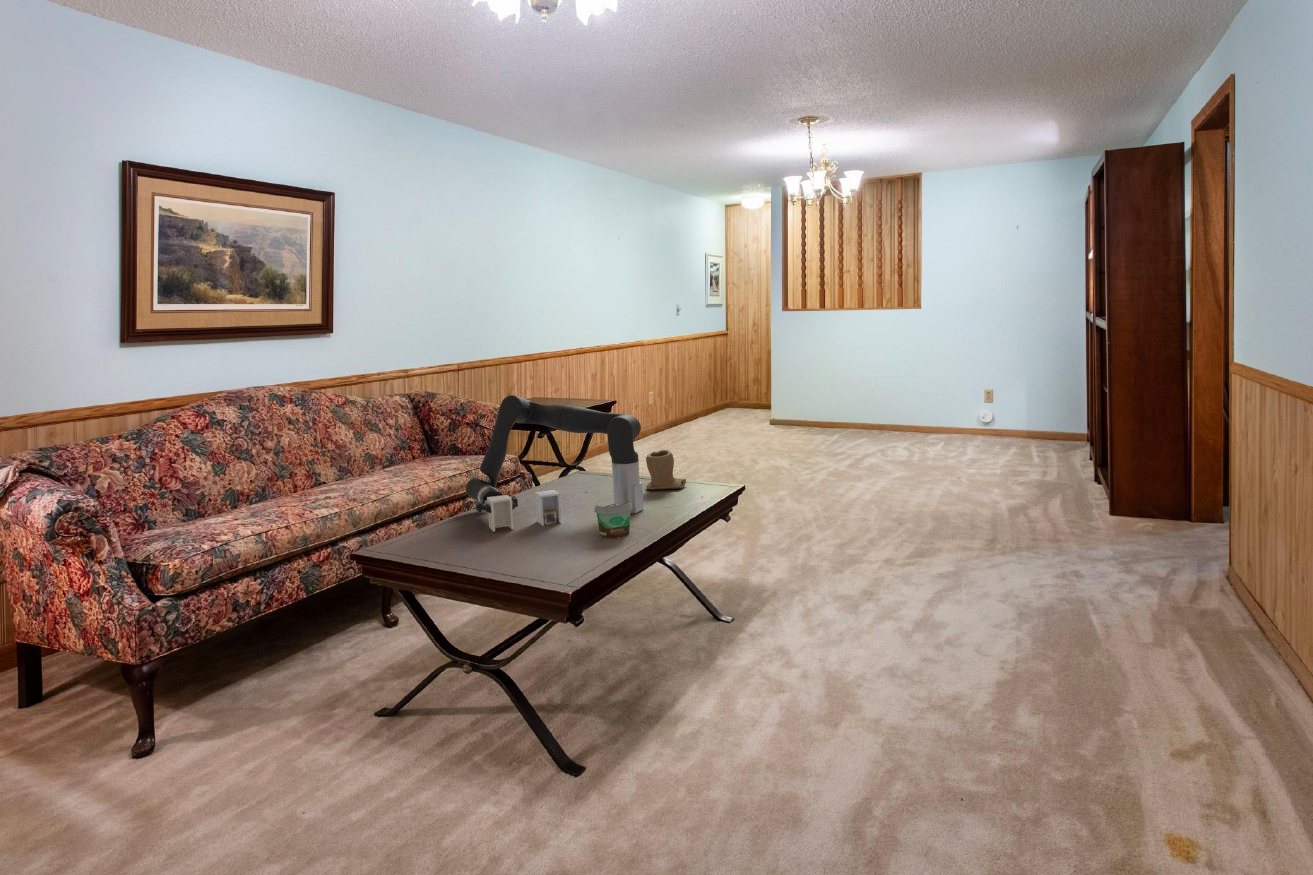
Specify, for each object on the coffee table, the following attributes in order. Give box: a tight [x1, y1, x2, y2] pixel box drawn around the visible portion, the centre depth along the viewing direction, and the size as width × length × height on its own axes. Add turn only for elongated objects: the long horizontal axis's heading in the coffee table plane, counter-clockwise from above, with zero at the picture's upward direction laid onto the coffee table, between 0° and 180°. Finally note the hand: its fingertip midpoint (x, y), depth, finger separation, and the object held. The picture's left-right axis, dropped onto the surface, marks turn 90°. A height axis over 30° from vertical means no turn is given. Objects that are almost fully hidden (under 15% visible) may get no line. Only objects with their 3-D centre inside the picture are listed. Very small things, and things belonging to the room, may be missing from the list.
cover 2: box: [534, 489, 563, 527], centre depth 281 cm, size 7×7×10 cm
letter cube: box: [543, 509, 557, 525], centre depth 281 cm, size 4×4×4 cm
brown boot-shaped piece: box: [645, 449, 687, 490], centre depth 324 cm, size 15×12×15 cm
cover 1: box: [487, 494, 515, 532], centre depth 275 cm, size 7×7×10 cm
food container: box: [594, 500, 632, 539], centre depth 259 cm, size 12×6×10 cm, turn 117°
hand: (501, 508), depth 272 cm, fingers open, 7 cm apart
